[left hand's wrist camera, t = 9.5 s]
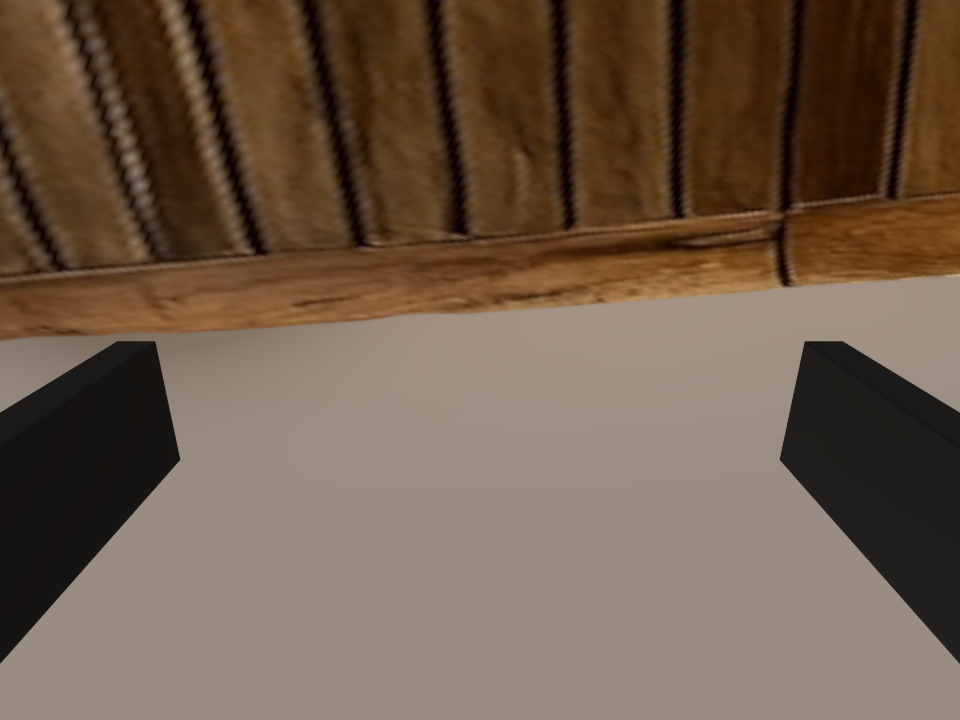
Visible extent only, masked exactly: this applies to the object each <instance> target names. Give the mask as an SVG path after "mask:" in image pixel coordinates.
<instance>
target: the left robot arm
mask: <svg viewBox="0 0 960 720" xmlns="http://www.w3.org/2000/svg"><path fill="white" fill-rule="evenodd" d="M179 461H180V456H179V451H178V446H177V442H176V437H175V432H174V428H173V423H172V418H171V413H170V409H169V404H168V399H167V395H166V390H165V385H164V380H163V376H162V371H161V366H160V362H159V357H158V352H157V348H156V343H155V341H117V342H115V343H114V344H112V345H111V346H109V347H107V348H106V349H104V350H102V351H101V352H99V353H97V354H96V355H94V356H92V357H91V358H89V359H87V360H86V361H84V362H83V363H81V364H79V365H78V366H76V367H74V368H73V369H71V370H69V371H68V372H66V373H65V374H63V375H61V376H60V377H58V378H56V379H55V380H53V381H51V382H50V383H48V384H46V385H45V386H43V387H42V388H40V389H38V390H37V391H35V392H33V393H32V394H30V395H28V396H27V397H25V398H24V399H22V400H20V401H19V402H17V403H15V404H14V405H12V406H10V407H9V408H7V409H5V410H4V411H2V412H0V663H1V662H2V661H3V660H4V659H5V658H6V657H7V655H8V654H9V653H10V652H11V651H12V650H13V649H14V647H15V646H16V645H17V644H18V643H19V642H20V641H21V640H22V638H23V637H24V636H25V635H26V634H27V633H28V632H29V630H30V629H31V628H32V627H33V626H34V625H35V624H36V623H37V621H38V620H39V619H40V618H41V617H42V616H43V615H44V614H45V612H46V611H47V610H48V609H49V608H50V607H51V606H52V604H53V603H54V602H55V601H56V600H57V599H58V598H59V597H60V595H61V594H62V593H63V592H64V591H65V590H66V589H67V587H68V586H69V585H70V584H71V583H72V582H73V581H74V580H75V578H76V577H77V576H78V575H79V574H80V573H81V572H82V571H83V569H84V568H85V567H86V566H87V565H88V564H89V563H90V561H91V560H92V559H93V558H94V557H95V556H96V555H97V554H98V552H99V551H100V550H101V549H102V548H103V547H104V546H105V544H106V543H107V542H108V541H109V540H110V539H111V538H112V537H113V535H114V534H115V533H116V532H117V531H118V530H119V529H120V528H121V526H122V525H123V524H124V523H125V522H126V521H127V520H128V518H129V517H130V516H131V515H132V514H133V513H134V512H135V510H136V509H137V508H138V507H139V506H140V505H141V504H142V503H143V501H144V500H145V499H146V498H147V497H148V496H149V495H150V494H151V492H152V491H153V490H154V489H155V488H156V487H157V486H158V484H159V483H160V482H161V481H162V480H163V479H164V478H165V477H166V475H167V474H168V473H169V472H170V471H171V470H172V469H173V468H174V466H175V465H176V464H177V463H178V462H179ZM780 461H781V462H782V463H783V464H784V465H785V466H786V468H787V469H788V470H789V471H790V472H791V473H792V474H793V475H794V477H795V478H796V479H797V480H798V481H799V482H800V483H801V484H802V486H803V487H804V488H805V489H806V490H807V491H808V492H809V494H810V495H811V496H812V497H813V498H814V499H815V500H816V501H817V502H818V504H819V505H820V506H821V507H822V508H823V509H824V511H825V512H826V513H827V514H828V515H829V516H830V517H831V518H832V520H833V521H834V522H835V523H836V524H837V525H838V526H839V528H840V529H841V530H842V531H843V532H844V533H845V534H846V535H847V536H848V538H849V539H850V540H851V541H852V542H853V543H854V544H855V546H856V547H857V548H858V549H859V550H860V551H861V552H862V554H863V555H864V556H865V557H866V558H867V559H868V560H869V561H870V563H871V564H872V565H873V566H874V567H875V568H876V569H877V571H878V572H879V573H880V574H881V575H882V576H883V577H884V578H885V580H886V581H887V582H888V583H889V584H890V585H891V586H892V587H893V589H894V590H895V591H896V592H897V593H898V594H899V595H900V597H901V598H902V599H903V600H904V601H905V602H906V603H907V604H908V606H909V607H910V608H911V609H912V610H913V611H914V612H915V613H916V615H917V616H918V617H919V618H920V619H921V620H922V621H923V623H924V624H925V625H926V626H927V627H928V628H929V629H930V631H931V632H932V633H933V634H934V635H935V636H936V637H937V638H938V640H939V641H940V642H941V643H942V644H943V645H944V646H945V648H946V649H947V650H948V651H949V652H950V653H951V654H952V655H953V657H954V658H955V659H956V660H957V661H958V662H959V663H960V413H959V412H958V411H956V410H955V409H953V408H951V407H950V406H948V405H946V404H945V403H943V402H941V401H940V400H938V399H937V398H935V397H933V396H932V395H930V394H928V393H927V392H925V391H923V390H922V389H920V388H918V387H917V386H915V385H914V384H912V383H910V382H909V381H907V380H905V379H904V378H902V377H900V376H899V375H897V374H895V373H894V372H892V371H891V370H889V369H887V368H886V367H884V366H882V365H881V364H879V363H877V362H876V361H874V360H872V359H871V358H869V357H868V356H866V355H864V354H863V353H861V352H859V351H858V350H856V349H854V348H853V347H851V346H849V345H848V344H846V343H845V342H843V341H805V343H804V348H803V352H802V357H801V362H800V366H799V371H798V376H797V381H796V385H795V390H794V395H793V399H792V404H791V409H790V413H789V418H788V423H787V428H786V432H785V437H784V442H783V446H782V451H781V456H780Z"/></svg>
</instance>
